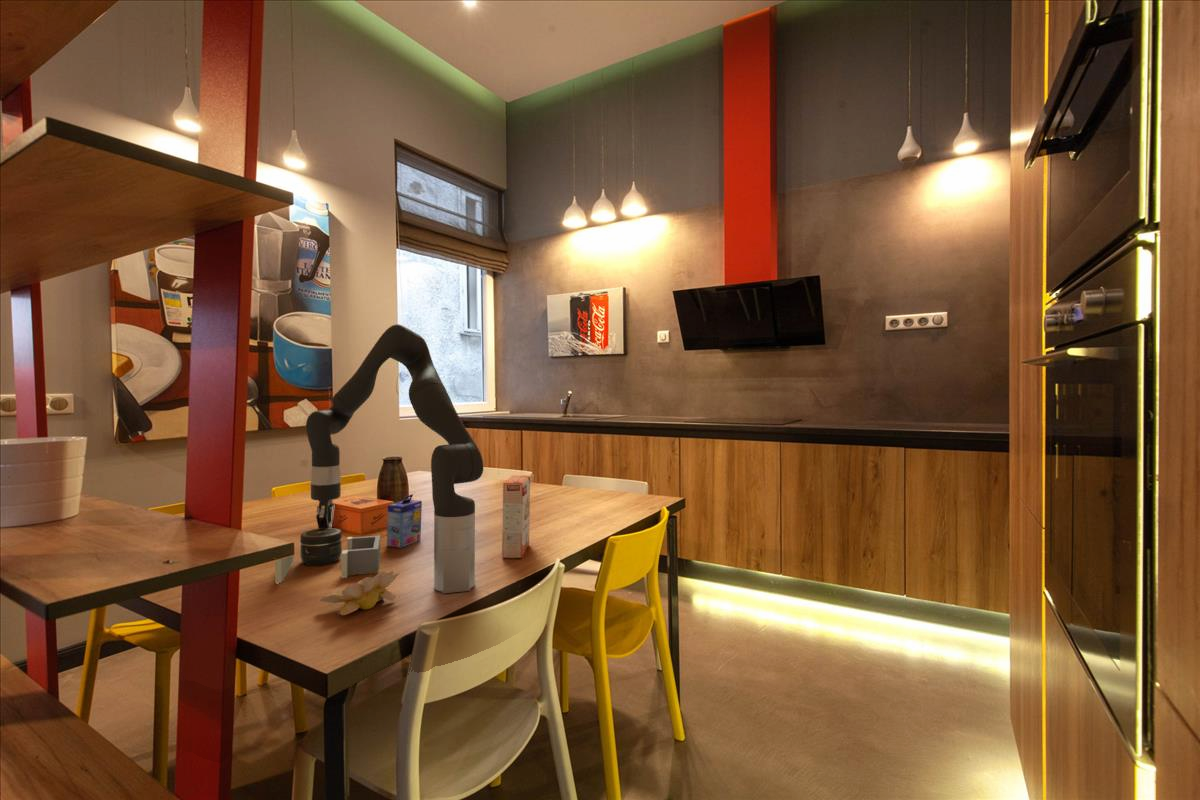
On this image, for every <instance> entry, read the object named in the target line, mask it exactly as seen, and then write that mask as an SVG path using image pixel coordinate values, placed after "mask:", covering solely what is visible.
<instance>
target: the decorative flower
mask: <svg viewBox="0 0 1200 800" xmlns="http://www.w3.org/2000/svg"><path fill="white" fill-rule="evenodd" d="M399 575H400V572H398V573H394V571H390V572H389V571H388V572H386V570H381V571H380V572H378V573H377V574H376V575H375V576H373V577H371V576H367V577H364V578H363V579H361V580H359V581H357V582H356V583H352V584H349V585H348V586H346V587H345V588H342V589H341V588H340V589H339V588H338V589H335V590H333V591H332V593H329V595H328V596H323V597H321V598H320V599H319V602H324V603H332V604H333V603H334V604H337V603H344V604H343V605H342V606H341V607H340V608H339V610H338V611H337V612H336V614H338V615H341V616H346V615H349V614H351V613H354V612H355V611H357V610H359V609H361V610H363V611H366V610H370V609H372V608H374V607H375V605H376V604H377V602H378V601H383V600H384V599H385V600H387V601H393V600H395V598H396V594H394V593H393V592H392V591H389V590H388V587H389V586H390V585H391V584H392V583H393V582H394V581H395V580H396V578H397V577H398V576H399Z"/></svg>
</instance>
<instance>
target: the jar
mask: <svg viewBox="0 0 1200 800" xmlns="http://www.w3.org/2000/svg"><path fill="white" fill-rule="evenodd" d="M342 540H343V535H342V530H341V529H340V528H336V527H335V528H332V527H331V528H321V529H318V528H316V529H310V530H307V531H306V530H305V531H304V532H302V533H301V534H300V538H299V544H300V558H301V562H302V563H303V564H304V563H305V564H309V565H308V566H310V565H318V566H325V564H326V565H329V564H333V563H336V562H337V561H339V559H341V557H342V551H343V550H342V542H343V541H342ZM305 564H304V565H305Z"/></svg>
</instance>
